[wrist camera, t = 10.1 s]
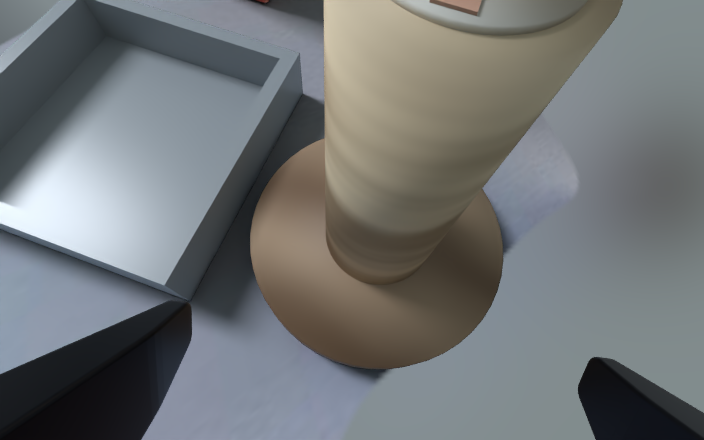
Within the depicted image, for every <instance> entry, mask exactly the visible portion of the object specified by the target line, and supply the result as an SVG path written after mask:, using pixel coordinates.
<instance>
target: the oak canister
mask: <svg viewBox="0 0 704 440" xmlns="http://www.w3.org/2000/svg"><path fill="white" fill-rule="evenodd" d="M622 2H623V0H324V96H325V223H326V242H327V246H328V249H329V252H330V254H331V256H332V258H333V260H334V261H335V262H336V264H337V265H338V266H339V267H340V268H341V269H342V270H343V271H344V272H345V273H347V274H348V275H350V276H351V277H353V278H355V279H357V280H359V281H361V282H365V283H368V284H374V285H387V284H393V283H397V282H400V281H402V280H404V279H406V278H408V277H410V276H411V275H412V274H414V273H415V272H416V271H417V270H418V269H419V268H420V267H421V265H422V264H423V263H424V262H425V260H426V259H427V258H428V256H429V255H430V254H431V253H432V251H433V250H434V249H435V248H436V246H437V245H438V244H439V243H440V241H441V240H442V239H443V237H444V236H445V235H446V234H447V232H448V231H449V230H450V229H451V227H452V226H453V225H454V223H455V222H456V221H457V220H458V218H459V217H460V216H461V215H462V213H463V212H464V211H465V209H466V208H467V207H468V206H469V204H470V203H471V202H472V201H473V199H474V198H475V197H476V196H477V194H478V193H479V192H480V190H481V189H482V188H483V187H484V185H485V184H486V183H487V182H488V180H489V179H490V178H491V176H492V175H493V174H494V173H495V171H496V170H497V169H498V168H499V166H500V165H501V164H502V162H503V161H504V160H505V159H506V157H507V156H508V155H509V154H510V152H511V151H512V150H513V148H514V147H515V146H516V145H517V143H518V142H519V141H520V140H521V138H522V137H523V136H524V135H525V133H526V132H527V131H528V129H529V128H530V127H531V126H532V124H533V123H534V122H535V121H536V119H537V118H538V117H539V115H540V114H541V113H542V112H543V110H544V109H545V108H546V107H547V105H548V104H549V103H550V101H551V100H552V99H553V98H554V96H555V95H556V94H557V93H558V91H559V90H560V89H561V88H562V86H563V85H564V84H565V82H566V81H567V79H568V78H569V77H570V76H571V75H572V73H573V72H574V71H575V69H576V68H577V67H578V66H579V65H580V63H581V62H582V61H583V60H584V58H585V57H586V56H587V54H588V53H589V52H590V51H591V49H592V48H593V47H594V46H595V44H596V43H597V42H598V40H599V39H600V38H601V37H602V35H603V34H604V33H605V31H606V30H607V29H608V28H609V26H610V25H611V24H612V22H613V21H614V19H615V18H616V17H617V15H618V13H619V10H620V8H621V6H622Z"/></svg>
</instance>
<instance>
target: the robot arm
mask: <svg viewBox="0 0 704 440" xmlns="http://www.w3.org/2000/svg"><path fill="white" fill-rule="evenodd" d="M191 337H192V311H191V305H190V304H189V303H188V302H183V301H176V300H170V301H167V302H165V303H163V304H160V305H158V306H156V307H153V308H151V309H149V310H147V311H144V312H142V313H140V314H137V315H135V316H133V317H131V318H128V319H126V320H124V321H121V322H119V323H117V324H115V325H112V326H110V327H108V328H105V329H103V330H101V331H98V332H96V333H94V334H92V335H89V336H87V337H85V338H82V339H80V340H78V341H76V342H73V343H71V344H69V345H66V346H64V347H62V348H59V349H57V350H55V351H53V352H50V353H48V354H46V355H43V356H41V357H39V358H37V359H34V360H32V361H30V362H27V363H25V364H23V365H20V366H18V367H16V368H14V369H11V370H9V371H7V372H4V373H2V374H0V440H141V439H142V437H143V436H144V434H145V432H146V431H147V429H148V427H149V426H150V424H151V422H152V421H153V419H154V417H155V415H156V414H157V412H158V410H159V408H160V406H161V404H162V402H163V400H164V398H165V396H166V394H167V392H168V389H169V387H170V385H171V383H172V381H173V379H174V376H175V374H176V372H177V370H178V368H179V366H180V364H181V361H182V359H183V357H184V355H185V353H186V351H187V348H188V346H189V344H190V341H191ZM578 394H579V398H580V401H581V403H582V406H583V408H584V411H585V413H586V416H587V418H588V421H589V424H590V426H591V429H592V431H593V434H594V436H595V439H596V440H704V413H703V412H701V411H699V410H697V409H696V408H694V407H693V406H691V405H689V404H688V403H686V402H684V401H683V400H681V399H679V398H678V397H676V396H674V395H672V394H671V393H669V392H667V391H666V390H664V389H662V388H660V387H659V386H657V385H656V384H654V383H652V382H650V381H649V380H647V379H646V378H644V377H642V376H641V375H639V374H637V373H635V372H634V371H632V370H630V369H629V368H627V367H625V366H624V365H622V364H620V363H619V362H617V361H615V360H613V359H608V358H600V357H594V358H592V359H590V361H589V362H588V364H587V367H586V369H585V371H584V373H583V376H582V378H581V380H580V383H579V385H578Z"/></svg>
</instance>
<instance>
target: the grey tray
mask: <svg viewBox="0 0 704 440" xmlns="http://www.w3.org/2000/svg"><path fill="white" fill-rule="evenodd" d="M302 94H303V90H302V77H301V64H300V53H298V52H295V51H292V50H289V49H285V48H282V47H279V46H276V45H273V44H269V43H266V42H263V41H260V40H257V39H253V38H250V37H247V36H244V35H241V34H238V33H234V32H231V31H228V30H225V29H222V28H218V27H215V26H212V25H209V24H206V23H202V22H199V21H196V20H193V19H190V18H186V17H183V16H180V15H177V14H174V13H170V12H167V11H164V10H161V9H158V8H154V7H151V6H148V5H145V4H142V3H139V2H135V1H132V0H59V1H58V2H57V3H56V4H55V5H54V6H53V7H52V8H51V9H50V10H49V11H48V12H47V13H46V14H44V15H43V16H42V17H41V18H40V19H39V20H38V21H37V22H36V23H35V24H34V25H33V26H32V27H30V28H29V29H28V30H27V31H26V32H25V33H24V34H23V35H22V36H21V37H20V38H19V39H18V40H17V41H15V42H14V43H13V44H12V45H11V46H10V47H9V48H8V49H7V50H6V51H5V52H4V53H3V54H2V55H0V229H1V230H4V231H6V232H9V233H12V234H14V235H17V236H20V237H22V238H25V239H27V240H30V241H33V242H35V243H38V244H41V245H43V246H46V247H48V248H51V249H54V250H56V251H59V252H62V253H64V254H67V255H69V256H72V257H75V258H77V259H80V260H83V261H85V262H88V263H90V264H93V265H96V266H98V267H101V268H104V269H106V270H109V271H111V272H114V273H117V274H119V275H122V276H125V277H127V278H130V279H132V280H135V281H138V282H140V283H143V284H146V285H148V286H151V287H153V288H156V289H159V290H161V291H164V292H167V293H169V294H172V295H174V296H177V297H180V298H182V299H185V300H188V301H191V299H192V297H193V295H194V293H195V291H196V289H197V288H198V286H199V284H200V282H201V280H202V278H203V277H204V275H205V273H206V271H207V269H208V267H209V265H210V264H211V262H212V260H213V258H214V256H215V254H216V252H217V251H218V249H219V247H220V245H221V243H222V241H223V240H224V238H225V236H226V234H227V232H228V230H229V228H230V227H231V225H232V223H233V221H234V219H235V217H236V216H237V214H238V212H239V210H240V208H241V206H242V204H243V203H244V201H245V199H246V197H247V195H248V193H249V192H250V190H251V188H252V186H253V184H254V182H255V180H256V179H257V177H258V175H259V173H260V171H261V169H262V167H263V166H264V164H265V162H266V160H267V158H268V156H269V155H270V153H271V151H272V149H273V147H274V145H275V143H276V142H277V140H278V138H279V136H280V134H281V132H282V131H283V129H284V127H285V125H286V123H287V121H288V119H289V118H290V116H291V114H292V112H293V110H294V108H295V107H296V105H297V103H298V101H299V99H300V97H301V95H302Z"/></svg>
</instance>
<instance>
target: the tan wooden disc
mask: <svg viewBox="0 0 704 440" xmlns="http://www.w3.org/2000/svg"><path fill="white" fill-rule="evenodd" d="M250 252H251V259H252V265H253V270H254V273H255V276H256V280H257V283H258V286H259V288H260V290H261V292H262V294H263V296H264V298H265V300H266V302H267V303H268V305H269V306H270V308H271V309H272V311H273V313H274V314H275V315H276V317H277V318H278V320H279V321H280V322H281V323H282V324H283V326H284V327H285V328H286V329H287V330H288V331H289V332H290V333H291V334H292V335H293V336H294V337H295V338H296V339H298V340H299V341H300V342H301V343H302V344H303V345H305V346H306V347H308V348H310V349H311V350H313V351H314V352H316V353H317V354H319V355H321V356H324V357H326V358H328V359H330V360H332V361H335V362H338V363H341V364H344V365H348V366H351V367H358V368H364V369H392V368H400V367H405V366H410V365H413V364H417V363H420V362H424V361H427V360H430V359H432V358H434V357H436V356H439V355H441V354H443V353H445V352H447V351H448V350H450V349H451V348H453V347H454V346H456V345H457V344H459V343H460V342H461V341H462V340H463V339H465V338H466V337H467V336H468V335H469V334H470V333H472V331H473V330H474V329H475V328H476V327H477V325H478V324H479V323H480V322H481V321H482V320H483V318H484V316H485V315H486V313H487V312H488V310H489V308H490V307H491V305H492V302H493V300H494V297H495V295H496V293H497V290H498V287H499V283H500V279H501V275H502V266H503V243H502V237H501V231H500V227H499V224H498V220H497V217H496V214H495V212H494V210H493V207H492V205H491V203H490V201H489V199H488V197H487V196H486V194H485V192H484V191H483V189H481V190H480V192H479V193H478V194H477V196H476V197H475V198H474V199H473V201H472V202H471V203H470V204H469V206H468V207H467V208H466V209H465V211H464V212H463V213H462V215H461V216H460V217H459V218H458V220H457V221H456V222H455V223H454V225H453V226H452V227H451V229H450V230H449V231H448V232H447V234H446V235H445V236H444V237H443V239H442V240H441V241H440V243H439V244H438V245H437V246H436V248H435V249H434V250H433V251H432V253H431V254H430V255H429V256H428V258H427V259H426V260H425V262H424V263H423V264H422V265H421V267H420V268H419V269H418V270H417V271H416V272H415V273H414V274H412V275H411V276H410V277H408V278H406V279H404V280H402V281H400V282H397V283H393V284H387V285H374V284H368V283H365V282H361V281H359V280H357V279H355V278H353V277H351V276H350V275H348V274H347V273H345V272H344V271H343V270H342V269H341V268H340V267H339V266H338V265H337V264H336V262H335V261H334V260H333V258H332V256H331V254H330V252H329V249H328V246H327V242H326V223H325V138H323V139H321V140H319V141H316V142H314V143H312V144H310V145H309V146H307V147H305V148H303V149H301V150H300V151H299V152H297V153H296V154H295V155H293V156H292V157H290V158H289V159H288V160H287V161H286V162H285V163H284V164H283V165H282V166H281V167H280V168H279V169H278V170H277V171H276V173H275V174H274V175H273V176H272V178H271V179H270V180H269V182H268V184H267V185H266V187H265V188H264V190H263V192H262V194H261V196H260V199H259V201H258V203H257V205H256V209H255V212H254V216H253V219H252V226H251V234H250Z"/></svg>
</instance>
